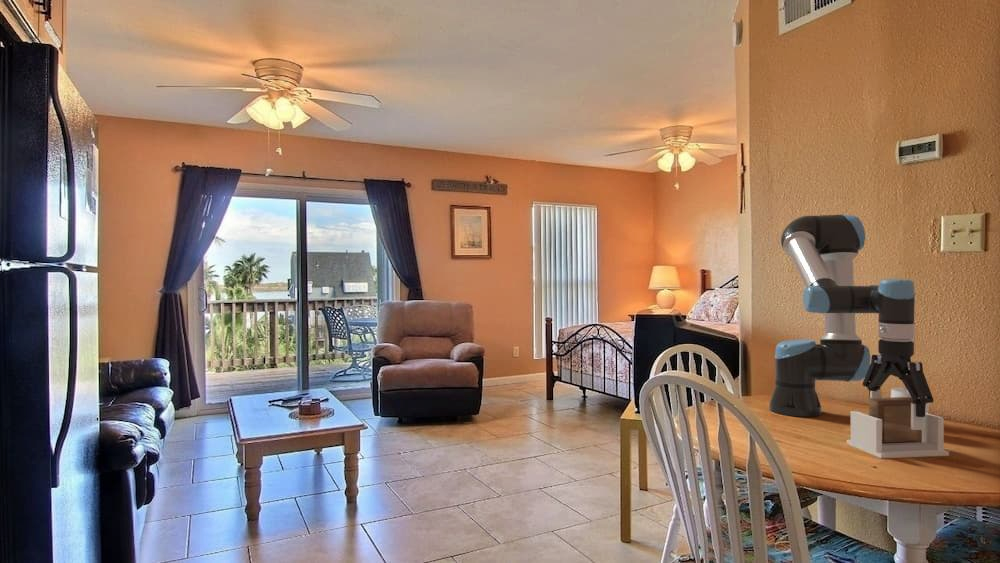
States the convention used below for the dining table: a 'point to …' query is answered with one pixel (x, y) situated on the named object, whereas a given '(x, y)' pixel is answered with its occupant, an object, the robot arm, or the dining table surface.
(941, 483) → the dining table surface
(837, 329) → the robot arm
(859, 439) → the track frame
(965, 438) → the dining table surface
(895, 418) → the door panel
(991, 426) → the dining table surface
